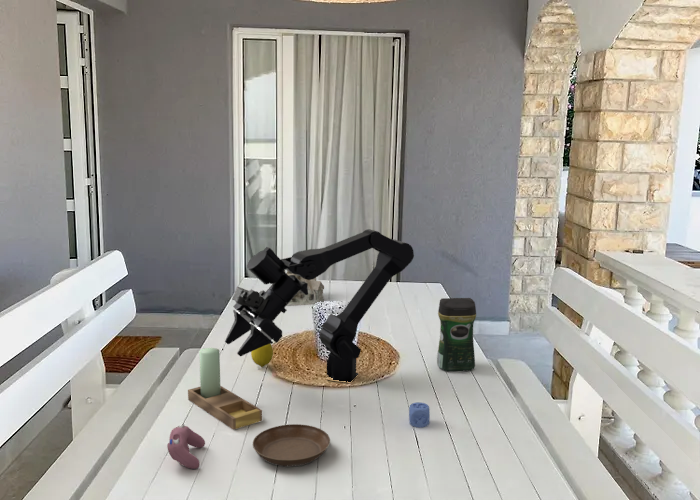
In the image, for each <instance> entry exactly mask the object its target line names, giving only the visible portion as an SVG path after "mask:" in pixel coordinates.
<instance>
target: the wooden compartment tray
mask: <svg viewBox="0 0 700 500" xmlns="http://www.w3.org/2000/svg"><path fill="white" fill-rule="evenodd" d="M220 388H221V395H217V396H213V397H210V398H206V399H205V398H203V397H202V396H201V387H200V386H198V387H194V388H190V389H187V400H188V401H190V402H191V403H192V404H194V405H196V406H197V407H199V408H200V409H201V410H203V411H204V412H206V413H207V414H208V415H210V416H212V417H213V418H215V419H216V420H218V421H220V422H221V423H222V424H224V425H225V426H227V427H229V428H230V429H231V430H233V431H234V430H237V429H241V428H244V427H247V426H251V425H253V424H257V423H259V422H262V421H263V410H262V409H261V408H259V407H257V406H256V405H254V404H252V403H251V402H249V401H247V400H245V399H244V398H242V397H241V396H238V395H237V394H236V393H233V392H232V391H231V390H228V389H227V388H225V387H224V386H222V385H220Z"/></svg>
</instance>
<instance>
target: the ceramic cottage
mask: <svg viewBox="0 0 700 500" xmlns="http://www.w3.org/2000/svg"><path fill="white" fill-rule="evenodd" d="M284 272H285V273H286V274H287V275H288V276H289V275H294V276H295V277H296V278H297V279H299V280H300V281H301V282H303V281H304V282H306V283H308V286H307V288H308V295H305V294H303V293H302V292H300V291H299V292H298V293H297V294H296V295H295V296H294V298H293V299H292V300H291V301H290V302H289V303H288V304H287V306H286V307H292V306H293V307H294V306H295V307H296V306H309V305H316V304H315V303H317V302H320V301H322V302H325V299H324V295H323V294H324V290H325V285H324V284H323V283H322V281H321V280H317V277H316V278H314V279H311V280H307V279H304V278H302V277H300V276H298V275H296V274H293V273H291V272H289V271H287V270H284Z"/></svg>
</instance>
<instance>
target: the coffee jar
mask: <svg viewBox="0 0 700 500" xmlns="http://www.w3.org/2000/svg"><path fill="white" fill-rule="evenodd" d="M476 307H477V306H476V302H475V301H474V299H473V298H471V297H451V298H450V297H448V298H447V297H445V298H443V297H442V298H441V299H440V300H439V306H438V310H437V314H438V318H439V322H440V329H439V330H440V331H439V339H438V340H439V341H438V347H437V349H438V350H437V355H436V356H437V357H436V366H437V367H438V369H440V370H442V371H445V372H448V373H449V372H450V373H451V372H452V373H457V372H458V373H460V372H469V371H470V372H471V371H473V370H475V368H476V358H475V357H476V355H475V347H474V346H475V345H474V344H475V343H474V323H475V321H476V318H477V309H476Z"/></svg>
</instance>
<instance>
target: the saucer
mask: <svg viewBox="0 0 700 500" xmlns="http://www.w3.org/2000/svg"><path fill="white" fill-rule="evenodd" d="M330 443H331V438H330V435H329V434H328V432H326V431H325V430H323V429H322V428H318V427H316V426H313V425H308V424H298V423H296V424H295V423H293V424H292V423H291V424H281V425H277V426H273V427H269V428H267V429H264V430H263V431H260V433H258V434H257V435H256V436H255V437H254V438H253V441H252V448H253V449H254V451H255V453H256V454H257V455H258V456H259V457H261V458H262V459H263V460H264V461H266V462H267V463H269V464H272V465H274V466H279V467H286V468H287V467H298V466H304V465H308V464H310V463H312V462H314V461H315V460H317V459H319V458H320V457H321V456H322V455H323V454H324V453H325V452H326V450H327V449H328V447H329V446H330Z"/></svg>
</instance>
